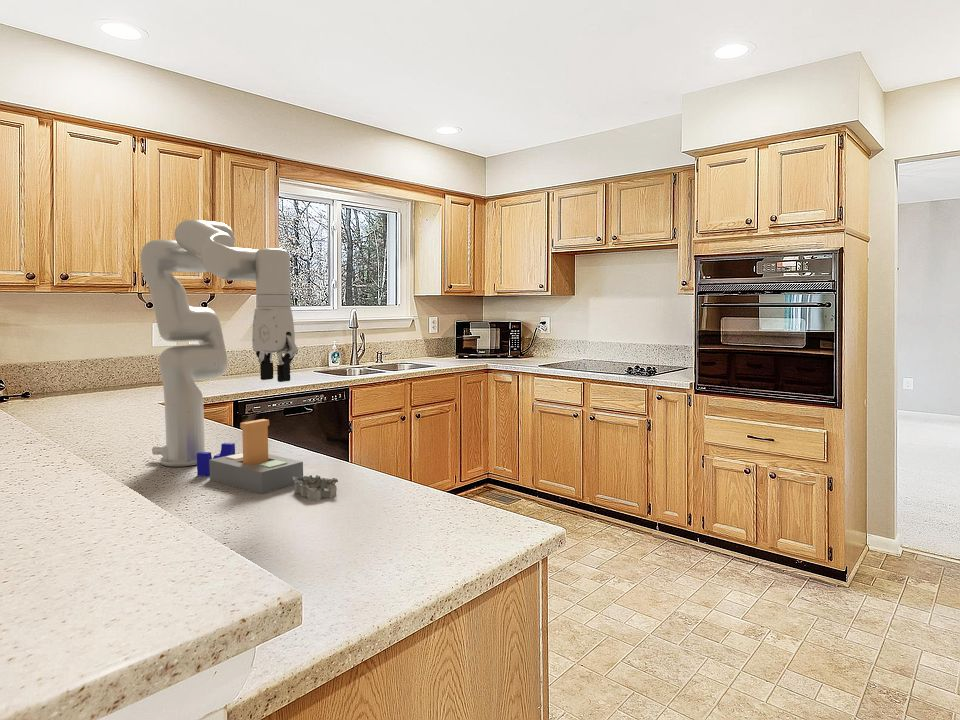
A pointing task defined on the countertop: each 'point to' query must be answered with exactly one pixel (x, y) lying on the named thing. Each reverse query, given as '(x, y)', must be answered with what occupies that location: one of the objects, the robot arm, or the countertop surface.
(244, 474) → the breaker box
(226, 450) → the cable clip
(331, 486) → the egg carton
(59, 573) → the countertop surface
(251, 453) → the breaker lever
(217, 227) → the robot arm
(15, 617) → the countertop surface
